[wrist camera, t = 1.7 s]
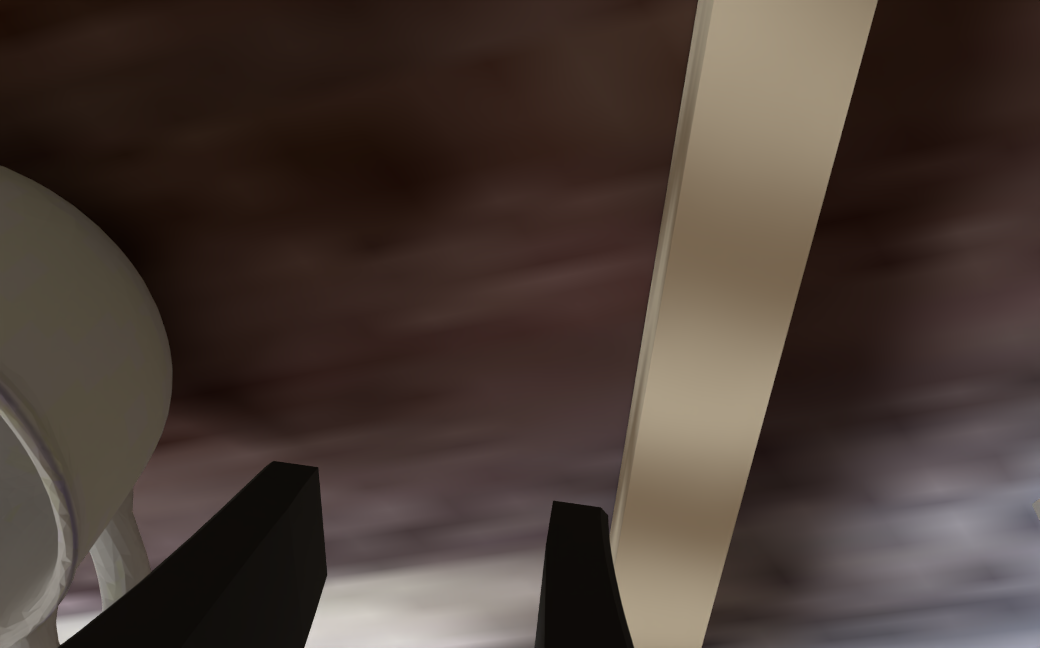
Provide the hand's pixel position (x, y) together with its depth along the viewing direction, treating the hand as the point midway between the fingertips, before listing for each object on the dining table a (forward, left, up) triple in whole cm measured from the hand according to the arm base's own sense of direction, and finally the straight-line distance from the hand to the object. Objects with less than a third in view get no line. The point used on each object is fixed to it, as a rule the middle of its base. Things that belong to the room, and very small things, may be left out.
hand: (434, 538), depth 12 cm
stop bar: (-7, +1, -10) cm, 13 cm away
